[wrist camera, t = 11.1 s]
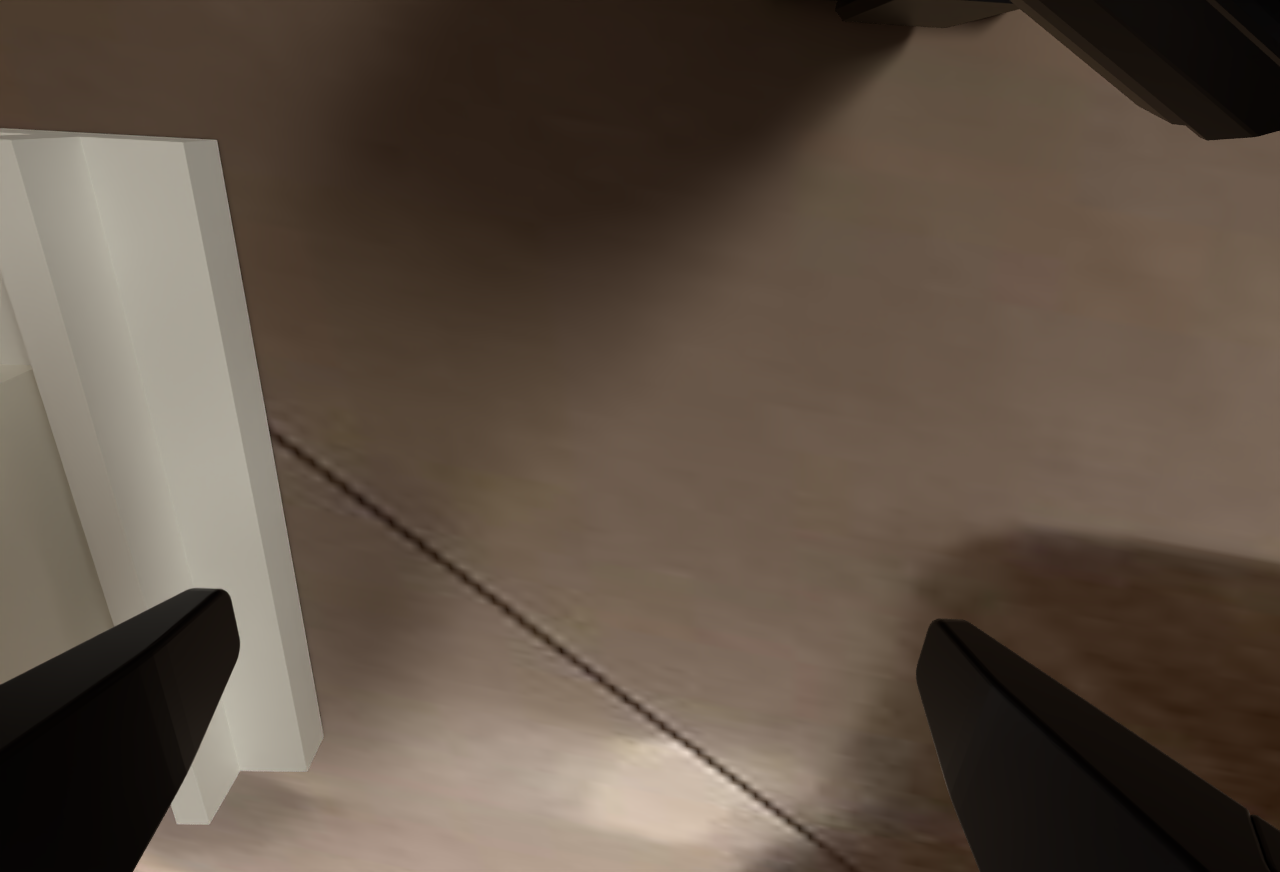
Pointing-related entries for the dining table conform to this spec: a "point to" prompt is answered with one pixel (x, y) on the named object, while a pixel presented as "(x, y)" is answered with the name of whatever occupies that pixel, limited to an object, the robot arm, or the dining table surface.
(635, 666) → the dining table surface
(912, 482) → the dining table surface
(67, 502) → the cream carton
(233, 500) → the shelf
